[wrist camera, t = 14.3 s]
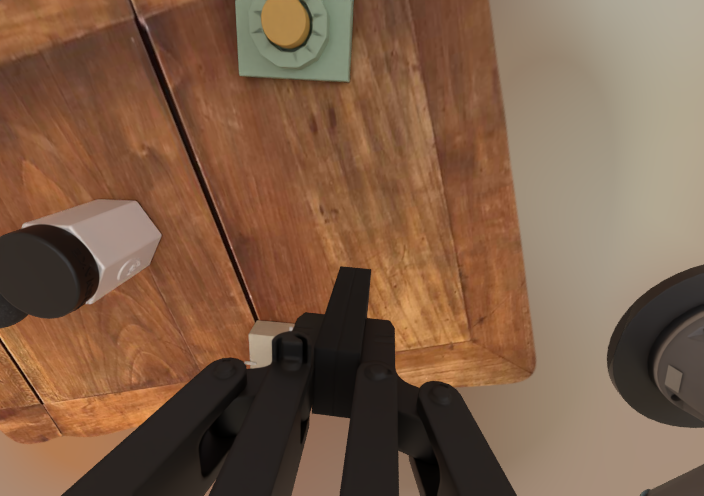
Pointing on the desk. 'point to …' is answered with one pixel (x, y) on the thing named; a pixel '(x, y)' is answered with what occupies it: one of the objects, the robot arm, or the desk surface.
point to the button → (285, 22)
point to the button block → (305, 60)
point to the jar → (75, 256)
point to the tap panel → (264, 341)
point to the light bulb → (9, 313)
